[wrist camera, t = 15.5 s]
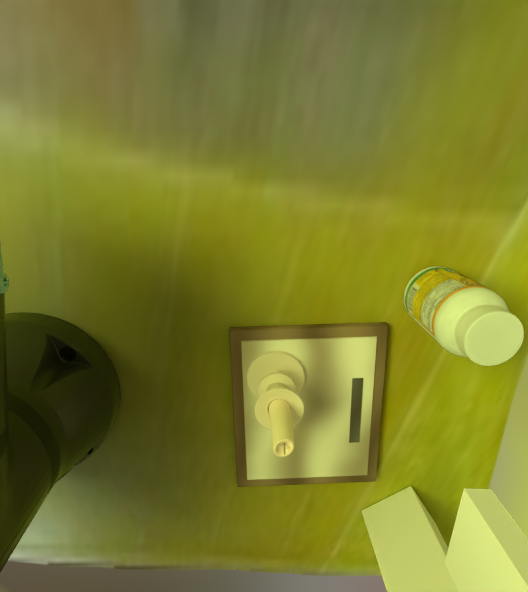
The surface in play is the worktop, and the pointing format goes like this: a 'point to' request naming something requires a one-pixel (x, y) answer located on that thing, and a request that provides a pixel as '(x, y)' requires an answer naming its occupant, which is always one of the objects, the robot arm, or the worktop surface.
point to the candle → (277, 396)
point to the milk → (408, 545)
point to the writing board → (314, 403)
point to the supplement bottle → (463, 316)
